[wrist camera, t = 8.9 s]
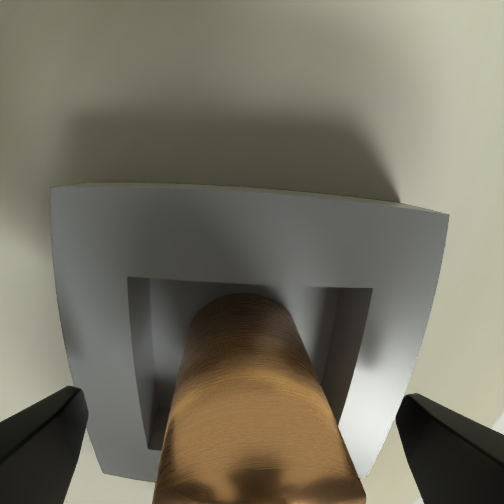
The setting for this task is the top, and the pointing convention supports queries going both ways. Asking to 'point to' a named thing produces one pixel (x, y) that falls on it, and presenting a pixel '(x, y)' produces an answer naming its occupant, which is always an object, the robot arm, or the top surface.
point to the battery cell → (251, 415)
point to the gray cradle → (237, 281)
